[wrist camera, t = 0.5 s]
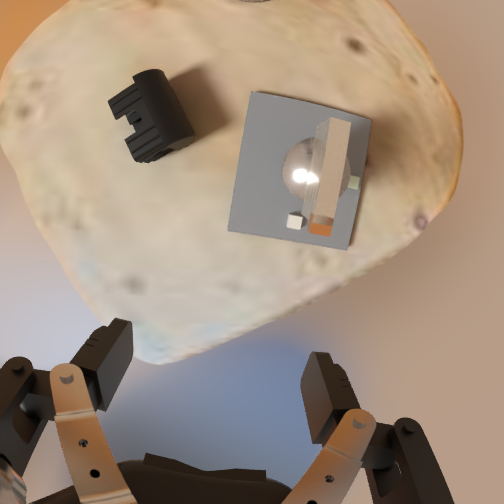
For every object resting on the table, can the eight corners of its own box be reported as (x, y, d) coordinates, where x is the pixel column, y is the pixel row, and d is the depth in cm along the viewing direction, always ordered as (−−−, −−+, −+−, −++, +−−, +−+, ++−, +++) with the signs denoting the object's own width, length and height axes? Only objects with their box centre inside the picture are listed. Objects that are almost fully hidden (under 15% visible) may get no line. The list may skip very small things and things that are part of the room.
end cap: (201, 139, 33) (191, 132, 27) (153, 166, 34) (134, 165, 28) (170, 78, 31) (155, 61, 24) (125, 106, 32) (103, 95, 25)
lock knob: (288, 123, 27) (301, 109, 20) (349, 138, 28) (377, 130, 21) (272, 214, 30) (280, 228, 23) (332, 225, 30) (356, 241, 23)
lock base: (250, 93, 32) (251, 78, 26) (367, 121, 33) (388, 114, 27) (228, 229, 37) (224, 240, 31) (344, 248, 38) (360, 262, 32)
